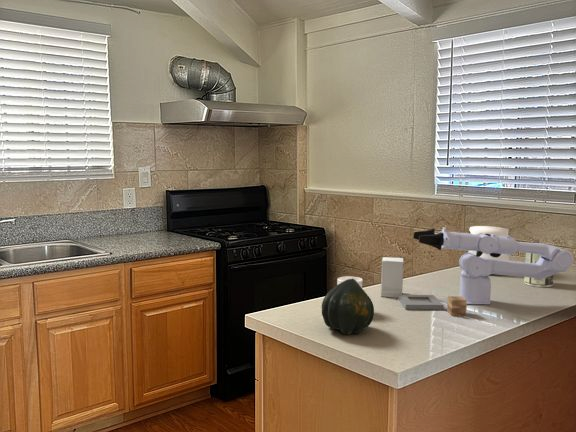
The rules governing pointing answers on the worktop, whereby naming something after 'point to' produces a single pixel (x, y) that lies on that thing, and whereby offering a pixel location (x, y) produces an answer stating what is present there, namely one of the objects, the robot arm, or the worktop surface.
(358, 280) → the white cup
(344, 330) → the squash
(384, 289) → the supplement box
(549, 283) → the coffee can
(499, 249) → the robot arm
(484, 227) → the milk container
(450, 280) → the worktop surface
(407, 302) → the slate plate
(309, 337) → the worktop surface
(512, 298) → the worktop surface
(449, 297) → the brown block
